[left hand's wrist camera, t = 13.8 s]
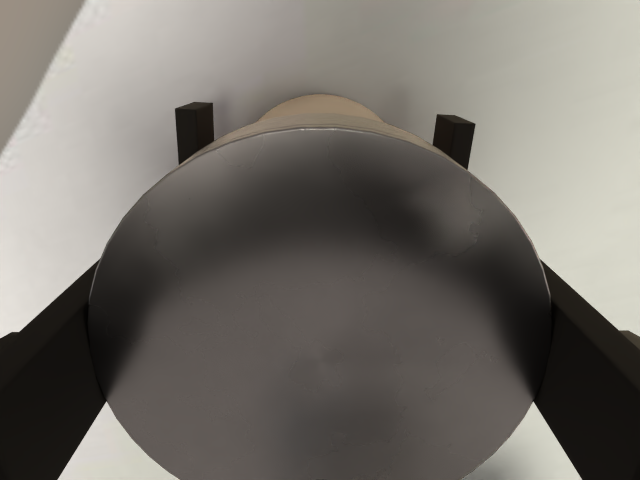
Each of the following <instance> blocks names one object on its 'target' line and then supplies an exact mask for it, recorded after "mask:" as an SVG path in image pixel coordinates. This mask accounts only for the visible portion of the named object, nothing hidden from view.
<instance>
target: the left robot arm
mask: <svg viewBox="0 0 640 480" xmlns="http://www.w3.org/2000/svg"><path fill="white" fill-rule="evenodd" d="M100 259H101V258H100ZM100 259H99V260H98V261H97V262H96V263H95V264H94V265H93V266H92V267H90V268H89V269H88V270H87V271H86V272H85V273H84V274H83V275H82V276H81V277H79V278H78V279H77V280H76V281H75V282H74V283H73V284H72V285H71V286H70V287H68V288H67V289H66V290H65V291H64V292H63V293H62V294H61V295H60V296H58V297H57V298H56V299H55V300H54V301H53V302H52V303H51V304H50V305H49V306H47V307H46V308H45V309H44V310H43V311H42V312H41V313H40V314H39V315H38V316H36V317H35V318H34V319H33V320H32V321H31V322H30V323H29V324H28V325H26V326H25V327H24V328H23V329H22V330H21V331H20V332H11V333H10V334H8V335H6V336H4V337H2V338H0V480H57V479H58V478H59V476H60V475H61V473H62V471H63V470H64V468H65V467H66V465H67V463H68V462H69V460H70V459H71V457H72V455H73V454H74V452H75V451H76V449H77V447H78V446H79V444H80V443H81V441H82V439H83V438H84V436H85V435H86V433H87V431H88V430H89V428H90V427H91V425H92V423H93V422H94V420H95V419H96V417H97V415H98V414H99V412H100V411H101V409H102V407H103V406H104V404H105V403H106V399H105V397H104V395H103V392H102V390H101V387H100V385H99V382H98V380H97V377H96V375H95V371H94V366H93V362H92V358H91V353H90V349H89V339H88V327H87V320H88V307H89V296H90V292H91V287H92V283H93V279H94V275H95V271H96V268H97V266H98V263H99V261H100ZM540 261H541V263H542V266H543V268H544V272H545V276H546V280H547V284H548V288H549V291H550V298H551V309H552V319H553V323H552V339H551V348H550V353H549V357H548V361H547V366H546V370H545V374H544V377H543V379H542V382H541V385H540V387H539V390H538V392H537V395H536V397H535V399H534V400H533V401H534V403H535V405H536V406H537V408H538V409H539V411H540V413H541V414H542V416H543V417H544V419H545V421H546V422H547V424H548V425H549V427H550V429H551V430H552V432H553V433H554V435H555V437H556V438H557V440H558V441H559V443H560V445H561V446H562V448H563V449H564V451H565V453H566V454H567V456H568V458H569V459H570V461H571V462H572V464H573V466H574V467H575V469H576V470H577V472H578V474H579V475H580V477H581V478H582V480H640V337H639V336H637V335H635V334H634V333H632V332H630V331H619V330H618V329H617V328H615V327H614V326H613V325H612V324H611V323H610V322H609V321H608V320H607V319H606V318H604V317H603V316H602V315H601V314H600V313H599V312H598V311H597V310H596V309H594V308H593V307H592V306H591V305H590V304H589V303H588V302H587V301H586V300H585V299H583V298H582V297H581V296H580V295H579V294H578V293H577V292H576V291H575V290H574V289H572V288H571V287H570V286H569V285H568V284H567V283H566V282H565V281H564V280H562V279H561V278H560V277H559V276H558V275H557V274H556V273H555V272H554V271H553V270H551V269H550V268H549V267H548V266H547V265H546V264H545V263H544V262H543V261H542V260H540Z"/></svg>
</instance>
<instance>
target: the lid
mask: <svg viewBox="0 0 640 480" xmlns="http://www.w3.org/2000/svg"><path fill="white" fill-rule="evenodd" d="M552 323H553V319H552V309H551V298H550V291H549V288H548V284H547V280H546V276H545V272H544V268H543V266H542V263H541V261H540V259H539V257H538V254H537V252H536V250H535V248H534V245H533V243H532V241H531V239H530V238H529V236H528V235H527V233H526V232H525V230H524V228H523V227H522V225H521V224H520V222H519V221H518V219H517V218H516V216H515V215H514V214H513V213H512V212H511V211H510V209H509V208H508V207H507V206H506V205H505V204H504V203H503V202H502V200H501V199H500V198H499V197H498V196H497V195H496V194H495V193H494V192H493V191H492V190H491V189H489V188H488V187H487V186H486V185H485V184H483V183H482V182H481V181H480V180H478V179H477V178H476V177H475V176H474V175H472V174H471V173H470V172H469V171H467V170H466V169H465V168H463V167H462V166H461V165H459V164H458V163H457V162H455V161H454V160H453V159H451V158H450V157H449V156H447V155H446V154H445V153H444V152H442V151H441V150H439V149H438V148H436V147H434V146H433V145H431V144H429V143H428V142H426V141H424V140H423V139H421V138H420V137H418V136H416V135H414V134H411V133H409V132H407V131H404V130H402V129H400V128H397V127H395V126H393V125H390V124H387V123H383V122H379V121H376V120H372V119H368V118H365V117H359V116H352V115H344V114H336V113H302V114H295V115H288V116H281V117H275V118H271V119H268V120H264V121H261V122H257V123H254V124H250V125H247V126H244V127H242V128H240V129H238V130H235V131H233V132H231V133H229V134H226V135H224V136H222V137H220V138H218V139H217V140H215V141H214V142H212V143H210V144H209V145H207V146H206V147H204V148H202V149H201V150H199V151H198V152H196V153H195V154H194V155H192V156H191V157H190V158H188V159H187V160H186V161H184V162H183V163H182V164H180V165H179V166H178V167H176V168H175V169H174V170H172V171H171V172H170V173H168V174H167V175H166V176H165V177H164V178H162V179H161V180H160V181H159V182H158V183H156V184H155V185H154V186H153V187H152V188H151V189H149V190H148V191H147V192H146V193H145V194H143V196H142V197H141V198H140V199H139V200H138V201H137V202H136V204H135V205H134V206H133V207H132V208H131V209H130V210H129V212H128V213H127V214H126V215H125V216H124V217H123V219H122V220H121V222H120V223H119V225H118V227H117V228H116V230H115V231H114V233H113V235H112V236H111V238H110V239H109V241H108V243H107V244H106V247H105V249H104V252H103V254H102V256H101V259H100V261H99V263H98V266H97V268H96V271H95V275H94V279H93V283H92V287H91V292H90V296H89V307H88V320H87V327H88V339H89V349H90V353H91V358H92V362H93V366H94V371H95V375H96V377H97V380H98V382H99V385H100V387H101V390H102V392H103V395H104V397H105V399H106V401H107V403H108V404H109V406H110V408H111V410H112V411H113V413H114V415H115V417H116V418H117V420H118V421H119V422H120V424H121V425H122V426H123V428H124V429H125V430H126V432H127V433H128V434H129V436H130V437H131V438H132V439H133V440H134V441H135V442H136V443H137V444H138V445H139V446H140V447H141V449H142V450H143V451H144V452H145V453H146V454H147V455H148V456H149V457H151V458H152V459H153V460H154V461H155V462H157V463H158V464H159V465H160V466H162V467H163V468H164V469H165V470H167V471H168V472H169V473H171V474H172V475H174V476H175V477H177V478H178V479H180V480H460V479H462V478H463V477H465V476H466V475H468V474H469V473H471V472H472V471H474V470H475V469H476V468H477V467H478V466H480V465H481V464H482V463H483V462H484V461H486V460H487V459H488V458H489V457H490V456H492V455H493V454H494V453H495V452H496V451H497V450H498V449H499V447H500V446H501V445H502V444H503V443H504V442H505V441H506V440H507V439H508V438H509V437H510V436H511V434H512V433H513V432H514V430H515V429H516V428H517V426H518V425H519V424H520V422H521V421H522V419H523V418H524V417H525V415H526V413H527V411H528V410H529V408H530V406H531V404H532V402H533V400H534V399H535V397H536V395H537V392H538V390H539V387H540V385H541V382H542V379H543V377H544V374H545V370H546V366H547V361H548V357H549V353H550V348H551V339H552Z"/></svg>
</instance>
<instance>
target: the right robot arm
mask: <svg viewBox="0 0 640 480" xmlns="http://www.w3.org/2000/svg"><path fill="white" fill-rule="evenodd" d="M175 116H176V130H177V145H178V159H179V165H180V164H182V163H183V162H184V161H186V160H187V159H188V158H190V157H191V156H192V155H194V154H195V153H196V152H198V151H199V150H201V149H202V148H204V147H206V146H207V145H209V144H210V143H212V142H214V125H213V103H203V102H193V103H190V104H187V105H184V106H181V107H178V108H175ZM474 129H475V124H474V123H472V122H470V121H467V120H465V119H462V118H460V117H458V116H455V115H439V114H437V118H436V125H435V132H434V139H433V146H434V147H436V148H438V149H439V150H441V151H442V152H444V153H445V154H446V155H447V156H449V157H450V158H451V159H453V160H454V161H455V162H457V163H458V164H459V165H461V166H462V167H463V168H465V169H466V170H467V169H468V163H469V158H470V152H471V146H472V141H473V135H474Z"/></svg>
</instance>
